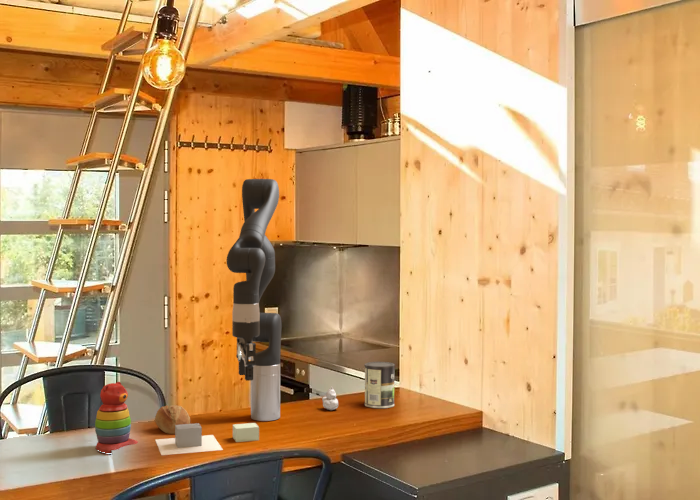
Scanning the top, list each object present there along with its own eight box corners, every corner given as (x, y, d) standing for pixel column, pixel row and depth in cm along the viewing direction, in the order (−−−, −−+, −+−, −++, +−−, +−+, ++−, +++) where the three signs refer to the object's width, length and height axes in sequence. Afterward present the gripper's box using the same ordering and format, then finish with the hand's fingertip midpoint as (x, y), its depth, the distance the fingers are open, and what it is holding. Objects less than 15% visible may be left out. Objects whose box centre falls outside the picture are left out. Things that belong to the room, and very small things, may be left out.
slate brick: (177, 447, 213) (177, 429, 213) (175, 443, 218) (175, 424, 218) (201, 445, 215) (201, 427, 215) (198, 441, 220) (198, 423, 220)
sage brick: (236, 446, 220) (236, 428, 219) (232, 442, 224) (232, 424, 224) (259, 444, 222) (259, 427, 221) (255, 440, 226) (255, 422, 226)
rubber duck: (331, 412, 260) (331, 388, 260) (317, 409, 265) (317, 385, 265) (342, 409, 264) (342, 385, 264) (328, 406, 269) (328, 383, 269)
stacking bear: (111, 456, 210) (111, 388, 209) (85, 450, 215) (85, 384, 215) (142, 446, 219) (142, 382, 218) (116, 441, 224) (116, 378, 224)
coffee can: (393, 401, 277) (394, 361, 276) (395, 408, 266) (395, 366, 266) (364, 401, 277) (364, 361, 276) (364, 408, 267) (364, 366, 266)
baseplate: (155, 443, 222) (155, 439, 222) (212, 439, 227) (212, 434, 227) (161, 459, 206) (161, 455, 206) (223, 454, 212) (223, 449, 212)
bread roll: (162, 441, 225) (162, 412, 225) (149, 429, 238) (149, 402, 238) (196, 437, 230) (196, 409, 229) (181, 425, 243) (181, 399, 243)
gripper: (227, 317, 228) (227, 373, 228) (237, 322, 214) (237, 382, 214) (253, 316, 230) (253, 372, 230) (265, 321, 217) (264, 381, 217)
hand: (245, 377), depth 222 cm, fingers open, 8 cm apart
